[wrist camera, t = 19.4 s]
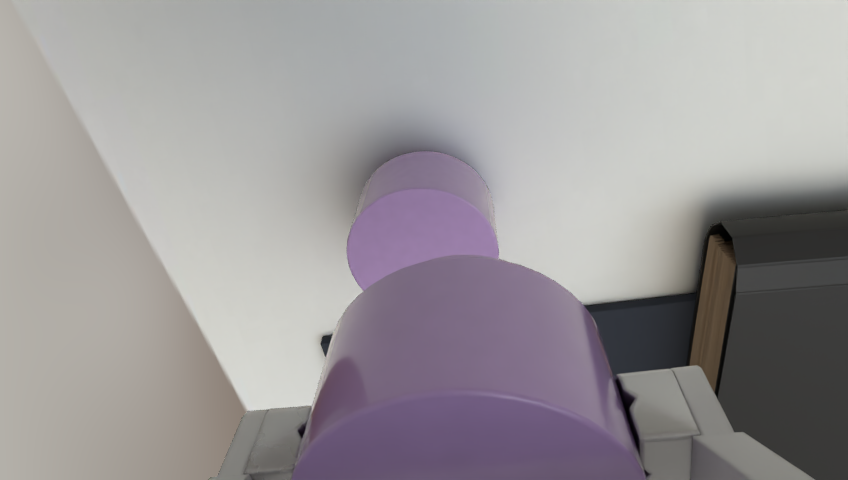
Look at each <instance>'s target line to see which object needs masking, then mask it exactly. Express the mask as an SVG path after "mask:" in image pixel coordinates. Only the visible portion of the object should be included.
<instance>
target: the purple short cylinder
mask: <svg viewBox="0 0 848 480" xmlns="http://www.w3.org/2000/svg"><path fill="white" fill-rule="evenodd" d="M450 255H480V256H487V257H493V258H497V259H498V258H499V249H498V240H497V231H496V223H495V215H494V207H493V201H492V197H491V194H490V192H489V189H488V187H487V185H486V184H485V182H484V180H483V179H482V178H481V177H480V175H479V174H478V173H477V172H476V171H475V170H474V169H473V168H471V167H470V166H469V165H468V164H466V163H464V162H463V161H461V160H459V159H457V158H455V157H453V156H450V155H447V154H443V153H438V152H432V151H419V152H411V153H407V154H403V155H400V156H397V157H395V158H393V159H391V160H389V161H387V162H386V163H384V164H383V165H381V166H380V167H379V168H378V169H377V170H376V171H375V172H374V173H373V174H372V175H371V176H370V178H369V179H368V181H367V182H366V184H365V186H364V188H363V191H362V193H361V196H360V200H359V203H358V206H357V209H356V213H355V216H354V219H353V222H352V226H351V229H350V232H349V236H348V240H347V259H348V264H349V267H350V270H351V272H352V275H353V276H354V278H355V280H356V282H357V283H358V285H359V286H360V287H361V289H362V290H363V291H365V290H366V289H367V288H368V287H369V286H371V285H372V284H374V283H375V282H377V281H378V280H380V279H382V278H383V277H385V276H387V275H389V274H391V273H393V272H395V271H397V270H400V269H402V268H404V267H407V266H411V265H414V264H417V263H420V262H424V261H427V260H430V259H433V258H438V257H443V256H450Z"/></svg>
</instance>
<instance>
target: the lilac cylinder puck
mask: <svg viewBox="0 0 848 480" xmlns="http://www.w3.org/2000/svg"><path fill="white" fill-rule="evenodd" d="M291 480H647V478H646V475H645V472H644V468H643V465H642V462H641V459H640V456H639V453H638V450H637V446H636V443H635V440H634V437H633V434H632V431H631V427H630V424H629V421H628V418H627V415H626V411H625V408H624V405H623V402H622V399H621V396H620V392H619V389H618V386H617V383H616V380H615V376H614V373H613V370H612V367H611V364H610V361H609V357H608V354H607V351H606V348H605V345H604V342H603V339H602V336H601V333H600V330H599V328H598V326H597V324H596V322H595V321H594V319H593V317H592V316H591V314H590V313H589V312H588V310H587V309H586V308H585V306H584V305H583V304H582V303H581V302H580V301H579V300H578V299H577V298H576V297H575V296H574V295H573V294H572V293H571V292H569V291H568V290H567V289H565V288H564V287H562V286H561V285H560V284H558V283H557V282H555V281H554V280H552V279H550V278H548V277H546V276H545V275H543V274H541V273H539V272H537V271H534V270H532V269H529V268H527V267H524V266H521V265H518V264H514V263H510V262H507V261H504V260H500V259H497V258H493V257H487V256H480V255H450V256H443V257H438V258H433V259H430V260H427V261H424V262H420V263H417V264H414V265H411V266H407V267H404V268H402V269H400V270H397V271H395V272H393V273H391V274H389V275H387V276H385V277H383V278H382V279H380V280H378V281H377V282H375V283H374V284H372V285H371V286H369V287H368V288H367V289H366V290H365V291H363V292H362V293H361V294H360V295H358V296H357V297H356V299H355V300H354V301H353V302H352V303H351V304H350V305H349V306H348V307H347V309H346V310H345V312H344V313H343V315H342V316H341V318H340V319H339V321H338V323H337V325H336V328H335V330H334V332H333V335H332V338H331V342H330V345H329V349H328V352H327V356H326V359H325V362H324V366H323V369H322V373H321V376H320V380H319V383H318V387H317V390H316V393H315V397H314V400H313V404H312V407H311V411H310V414H309V418H308V421H307V424H306V428H305V431H304V435H303V438H302V442H301V445H300V449H299V452H298V455H297V459H296V462H295V466H294V469H293V473H292V477H291Z"/></svg>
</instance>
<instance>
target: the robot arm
mask: <svg viewBox="0 0 848 480" xmlns="http://www.w3.org/2000/svg"><path fill="white" fill-rule="evenodd" d="M616 383H617V386H618V389H619V392H620V396H621V399H622V402H623V405H624V408H625V411H626V415H627V418H628V421H629V424H630V427H631V431H632V434H633V437H634V440H635V443H636V446H637V450H638V453H639V456H640V459H641V462H642V465H643V468H644V472H645V475H646V478H647V480H815V479H813V478H812V477H810V476H809V475H807V474H806V473H804V472H803V471H801V470H800V469H798V468H797V467H795V466H794V465H792V464H791V463H789V462H788V461H786V460H785V459H783V458H782V457H780V456H779V455H777V454H776V453H774V452H773V451H771V450H770V449H768V448H767V447H765V446H764V445H762V444H761V443H759V442H758V441H756V440H755V439H753V438H752V437H750V436H749V435H747V434H746V433H744V432H734V430H733V428H732V427H731V425H730V423H729V421H728V419H727V417H726V415H725V413H724V411H723V409H722V407H721V405H720V403H719V401H718V399H717V397H716V395H715V393H714V391H713V389H712V388H711V386H710V384H709V382H708V380H707V378H706V376H705V374H704V372H703V370H702V368H700V367H699V366H698V365H694V366H686V367H677V368H670V369H659V370H650V371H641V372H632V373H623V374H616ZM311 407H312V406H301V407H288V408H275V409H268V410H254V411H248V412H247V413H246V414H245V415H244V416H243V417H242V419H241V421H240V424H239V426H238V428H237V431H236V433H235V435H234V438H233V440H232V443H231V445H230V447H229V450H228V452H227V454H226V457H225V459H224V462H223V464H222V466H221V469H220V471H219V473H218V476H217V477H211V478H209V479H208V480H291V477H292V473H293V469H294V466H295V462H296V459H297V455H298V452H299V449H300V445H301V442H302V438H303V435H304V431H305V428H306V424H307V421H308V418H309V414H310V411H311Z"/></svg>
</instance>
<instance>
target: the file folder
mask: <svg viewBox="0 0 848 480" xmlns="http://www.w3.org/2000/svg"><path fill="white" fill-rule="evenodd" d="M694 365H698V366H699V367H700V368H702V370H703V372H704V374H705V376H706V378H707V380H708V382H709V384H710V386H711V388H712V389H713V391H714V393H715V395H716V397H717V399H718V401H719V403H720V405H721V407H722V409H723V411H724V413H725V415H726V417H727V419H728V421H729V423H730V425H731V427H732V428H733V430H734V432H744V433H746V434H747V435H749V436H750V437H752V438H753V439H755V440H756V441H758V442H759V443H761V444H762V445H764V446H765V447H767V448H768V449H770V450H771V451H773V452H774V453H776V454H777V455H779V456H780V457H782V458H783V459H785V460H786V461H788V462H789V463H791V464H792V465H794V466H795V467H797V468H798V469H800V470H801V471H803V472H804V473H806V474H807V475H809V476H810V477H812V478H813V479H815V480H848V210H843V211H831V212H820V213H808V214H797V215H786V216H774V217H763V218H751V219H740V220H729V221H720V222H717V223H715V224H712V226H710V229H709V231H708V233H707V235H706V237H705V241H704V246H703V253H702V260H701V267H700V274H699V281H698V288H697V295H696V302H695V310H694V317H693V324H692V331H691V338H690V345H689V352H688V359H687V366H694Z"/></svg>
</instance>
